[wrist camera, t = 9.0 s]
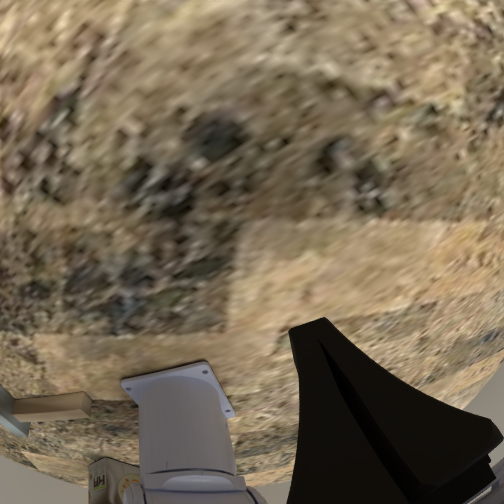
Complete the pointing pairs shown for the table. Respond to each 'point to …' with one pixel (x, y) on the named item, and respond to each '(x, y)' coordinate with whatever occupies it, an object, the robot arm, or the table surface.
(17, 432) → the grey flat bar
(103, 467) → the coffee box
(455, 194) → the table surface
